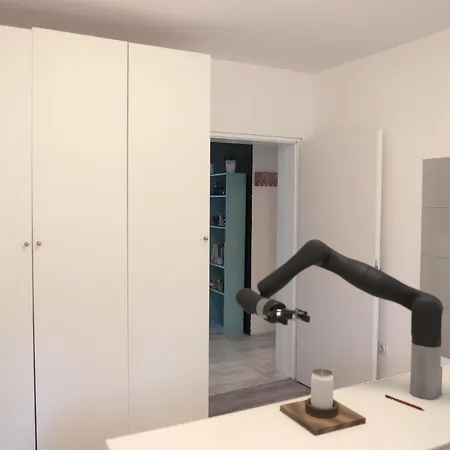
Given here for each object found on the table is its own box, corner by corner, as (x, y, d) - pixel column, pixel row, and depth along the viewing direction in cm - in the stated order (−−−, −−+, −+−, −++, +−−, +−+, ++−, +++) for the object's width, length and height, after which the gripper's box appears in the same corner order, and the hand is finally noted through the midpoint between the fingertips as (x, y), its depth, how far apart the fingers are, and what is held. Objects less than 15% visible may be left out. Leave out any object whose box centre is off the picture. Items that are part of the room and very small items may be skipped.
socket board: (326, 399, 161) (327, 387, 160) (365, 422, 144) (365, 409, 144) (279, 410, 153) (280, 397, 152) (315, 435, 136) (315, 421, 136)
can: (331, 407, 151) (332, 368, 151) (333, 416, 145) (334, 376, 144) (310, 405, 152) (311, 367, 151) (310, 415, 146) (312, 375, 145)
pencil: (424, 412, 153) (424, 409, 153) (385, 397, 164) (385, 395, 164) (425, 411, 153) (425, 408, 153) (386, 397, 164) (386, 394, 164)
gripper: (253, 301, 170) (279, 311, 155) (288, 297, 176) (316, 307, 162) (253, 322, 170) (279, 334, 156) (288, 318, 177) (315, 329, 162)
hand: (298, 320), depth 159 cm, fingers open, 8 cm apart
